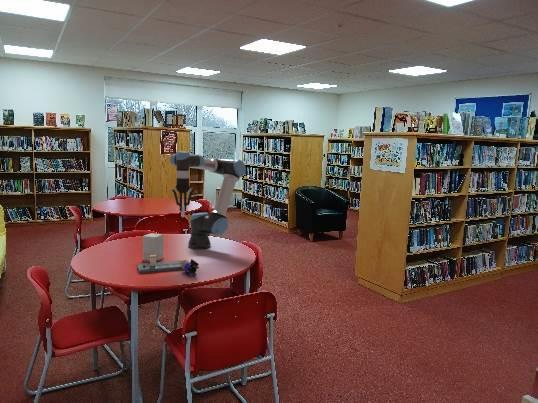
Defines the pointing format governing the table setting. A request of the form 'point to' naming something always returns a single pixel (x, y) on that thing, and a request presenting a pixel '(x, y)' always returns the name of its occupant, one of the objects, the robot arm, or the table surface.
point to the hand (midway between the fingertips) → (182, 216)
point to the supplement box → (152, 246)
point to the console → (160, 267)
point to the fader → (153, 260)
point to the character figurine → (189, 267)
